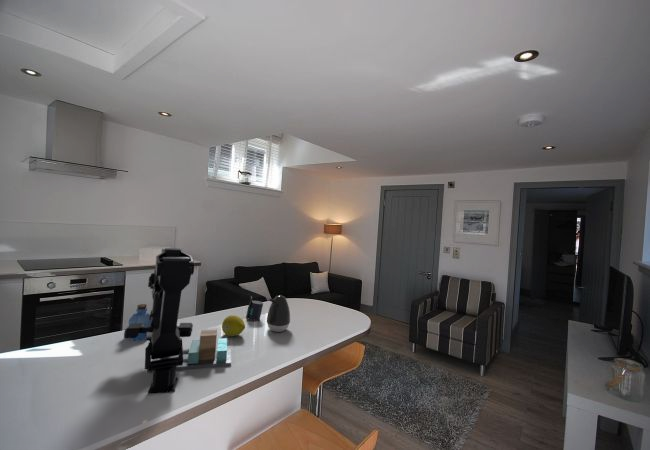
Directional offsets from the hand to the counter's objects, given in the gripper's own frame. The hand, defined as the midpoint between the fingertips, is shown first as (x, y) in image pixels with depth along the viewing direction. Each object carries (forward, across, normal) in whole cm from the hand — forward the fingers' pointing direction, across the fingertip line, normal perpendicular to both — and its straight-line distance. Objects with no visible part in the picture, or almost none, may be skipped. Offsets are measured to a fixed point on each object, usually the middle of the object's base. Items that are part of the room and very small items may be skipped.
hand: (157, 356), depth 95 cm
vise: (+2, -11, 0) cm, 11 cm away
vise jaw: (+1, -7, 0) cm, 7 cm away
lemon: (+1, -24, -19) cm, 30 cm away
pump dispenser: (+1, -43, -23) cm, 48 cm away
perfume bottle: (+2, +10, -23) cm, 25 cm away
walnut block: (0, -15, 0) cm, 15 cm away
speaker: (+1, -34, -38) cm, 51 cm away
